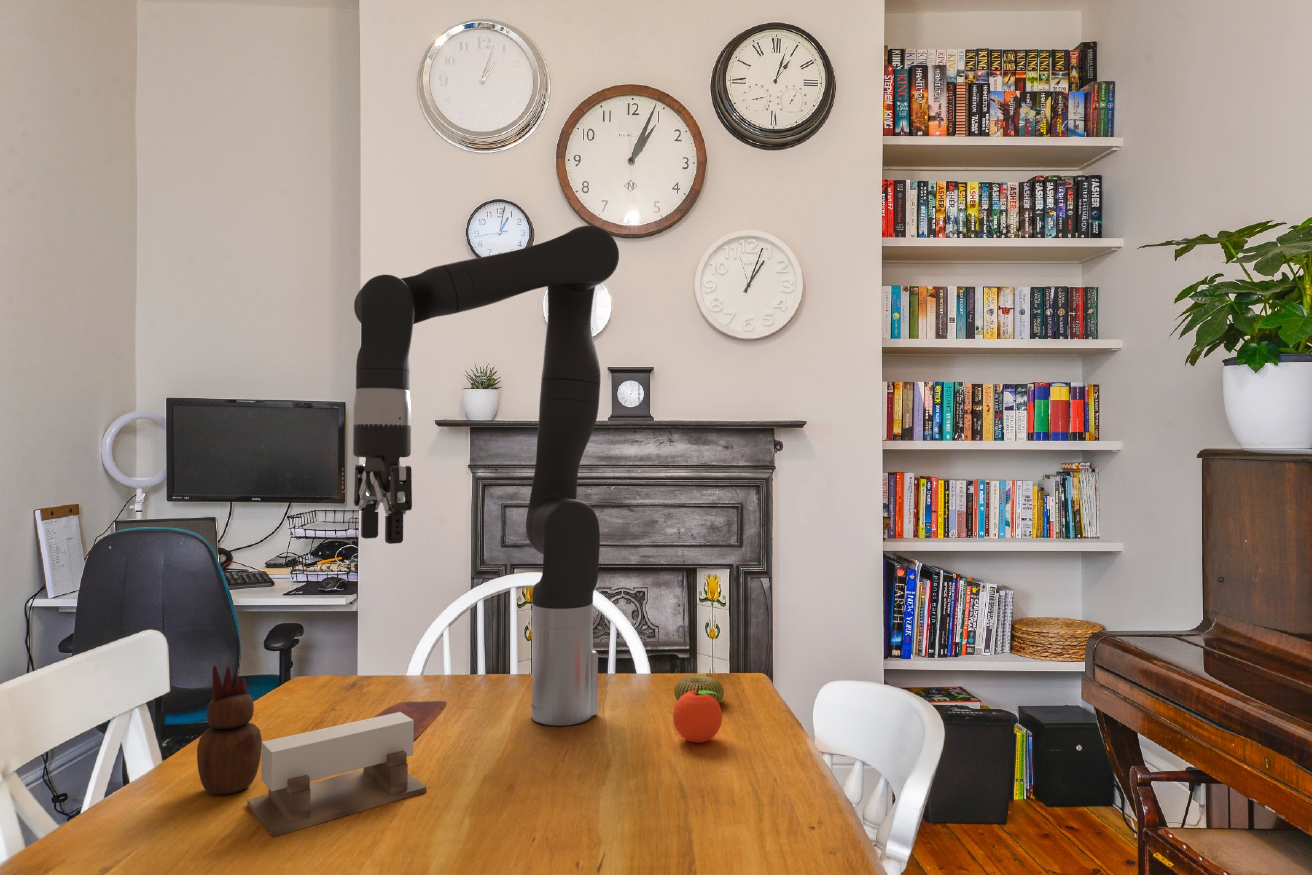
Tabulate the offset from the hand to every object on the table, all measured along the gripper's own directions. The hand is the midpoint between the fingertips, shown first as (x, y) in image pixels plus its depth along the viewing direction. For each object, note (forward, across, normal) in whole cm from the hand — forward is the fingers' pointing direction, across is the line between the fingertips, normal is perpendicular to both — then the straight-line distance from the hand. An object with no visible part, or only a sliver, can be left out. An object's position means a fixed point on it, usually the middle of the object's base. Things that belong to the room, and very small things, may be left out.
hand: (381, 540), depth 109 cm
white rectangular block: (+24, -13, +10) cm, 29 cm away
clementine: (+28, -27, -35) cm, 53 cm away
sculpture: (+28, -15, -46) cm, 56 cm away
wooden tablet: (+29, +5, -4) cm, 30 cm away
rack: (+28, -13, +10) cm, 33 cm away
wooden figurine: (+28, -2, +19) cm, 34 cm away
